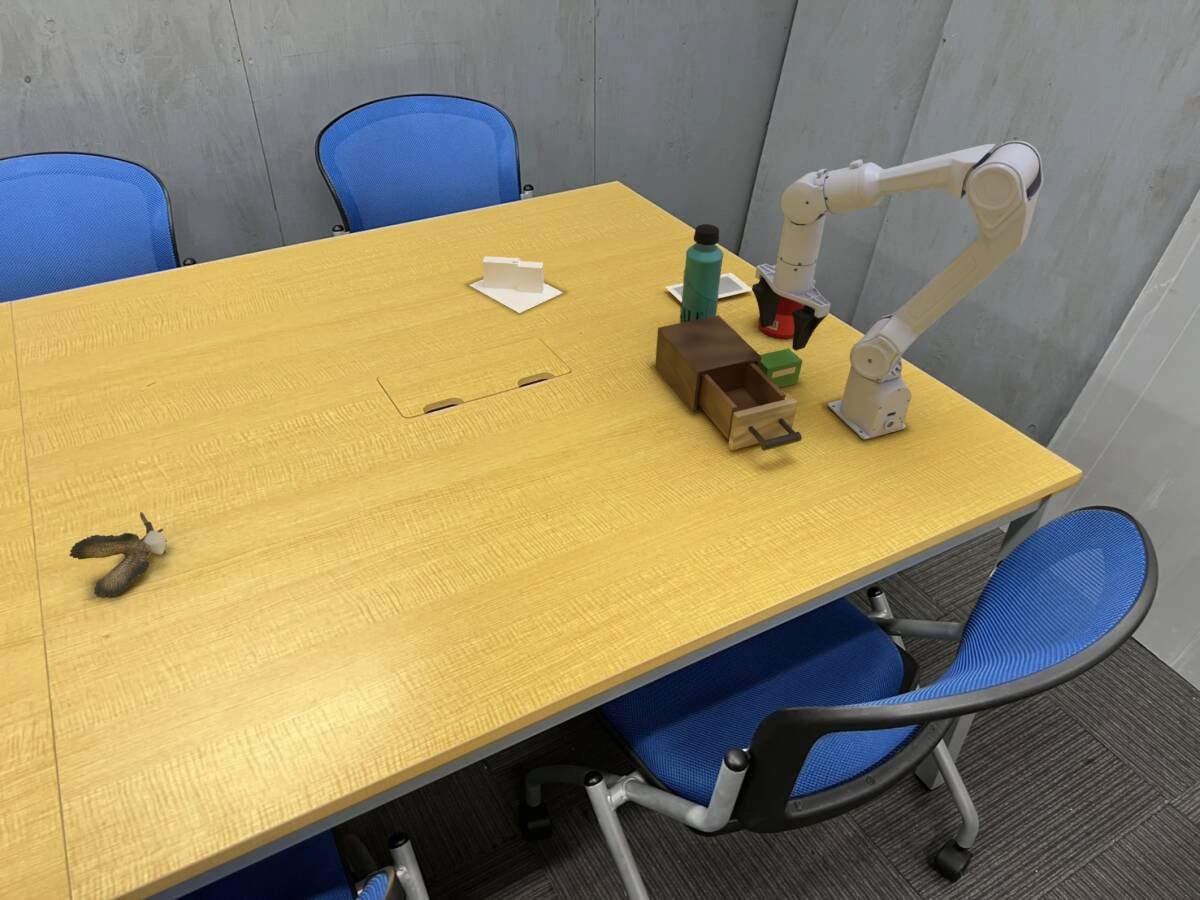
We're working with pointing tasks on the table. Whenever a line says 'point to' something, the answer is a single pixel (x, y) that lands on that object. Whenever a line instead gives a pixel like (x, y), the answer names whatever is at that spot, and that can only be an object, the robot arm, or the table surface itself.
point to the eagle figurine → (132, 556)
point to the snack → (781, 367)
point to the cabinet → (699, 354)
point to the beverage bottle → (701, 275)
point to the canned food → (783, 319)
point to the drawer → (748, 407)
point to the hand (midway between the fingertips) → (782, 336)
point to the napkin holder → (515, 282)
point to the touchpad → (726, 287)
